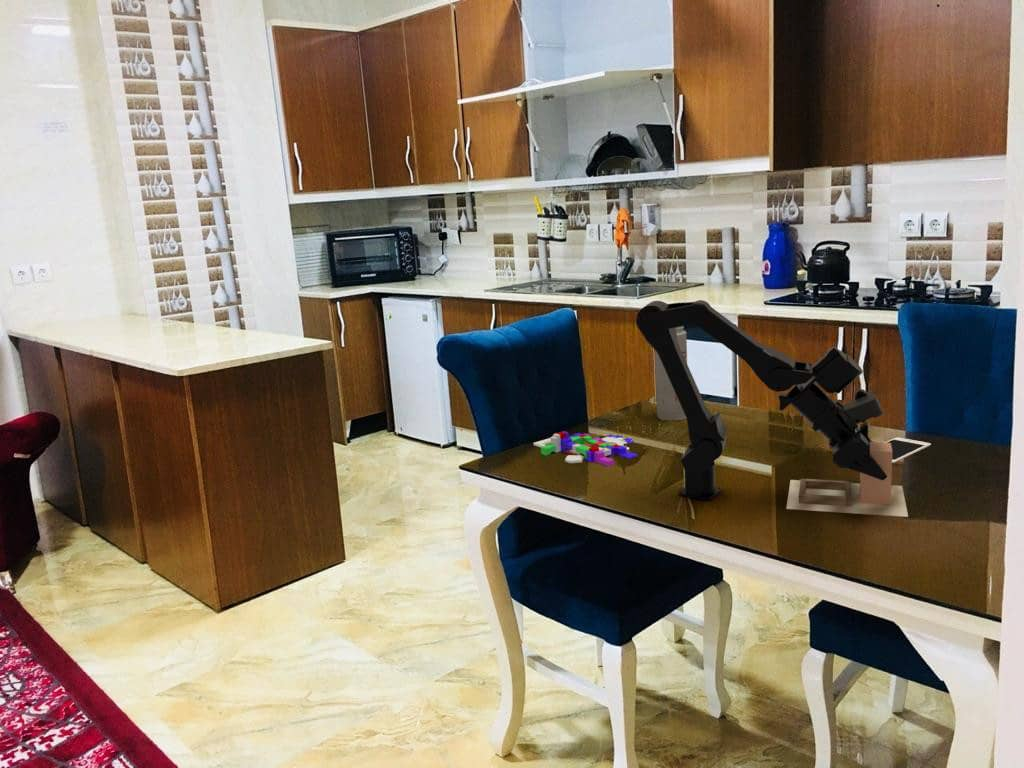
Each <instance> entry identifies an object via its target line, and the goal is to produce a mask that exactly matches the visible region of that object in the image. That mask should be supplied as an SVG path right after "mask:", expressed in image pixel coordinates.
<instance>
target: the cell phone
mask: <svg viewBox="0 0 1024 768" xmlns="http://www.w3.org/2000/svg"><path fill="white" fill-rule="evenodd" d="M884 443H891V447H892V464H895V463H897V462H899V461H901V460H903V459H905V458H907V457H909V456H911V455H913V454H915V453H917V452H919V451H922V450H923V449H925V448H928V447H930V446H931V445H932V444H931V443H930V442H927V441H926V442H925V441H919V440H915V439H914V440H913V439H909V438H905V437H904V438H903V437H895V438H892V439H889V440H887V441H885V442H884Z"/></svg>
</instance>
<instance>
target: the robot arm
mask: <svg viewBox="0 0 1024 768" xmlns="http://www.w3.org/2000/svg"><path fill="white" fill-rule="evenodd" d="M635 323H636V327H637V329H638V330H639V331H640V334H641V335H642V336H643V338H644V339H645V341H646V342H647V343H648V344H649V345H650V346H651V348H652V349H654V352H655V351H656V352H657V353H658V355H659V357H660V360H661V362H662V364H663V366H664V369H665V371H666V373H667V375H668V378H669V380H670V382H671V384H672V387H673V389H674V391H675V393H676V396H677V398H678V400H679V402H680V405H681V407H682V409H683V411H684V414H685V416H686V419H685V420H686V424H687V431H688V438H689V441H690V444H689V445H688V446H687V448H686V450H685V451H684V453H683V455H682V457H681V459H680V463H681V465H682V468H683V470H684V481H685V482H684V488H683V489H681V490H679V491H678V493H677V494H678V496H682V497H687V498H692V499H698V500H701V501H702V500H703V501H710V500H711V499H712V498H714V497H716V495H718V494H719V493H720V492H722V491H723V488H722V487H720V486H716V473H715V472H716V469H715V463H716V462H715V460H718V459H719V458H720V457H721V455H722V453H723V452H724V451H723V450H724V448H725V446H726V443H727V440H728V439H727V438H728V437H727V434H728V431H729V429H728V428H727V427H726V426H725V424H724V421H723V420H722V419H723V418H722V415H721V413H720V412H718V413H715V414H713V413H712V412H711V411H710V410H709V409H708V408H707V405H706V404H705V401H704V399H703V397H702V394H701V391H700V389H699V388H698V386H697V383H696V381H695V379H694V376H693V374H692V372H691V370H690V368H689V365H688V362H687V363H686V360H685V358H684V356H683V353H682V351H681V349H680V347H679V344H678V341H677V333H676V327H681V326H684V327H685V326H691V325H697V327H699V328H700V329H702V331H704V332H706V333H707V334H708V335H710V336H711V337H712V338H714V339H715V340H716V341H718V342H719V343H720V344H722V345H723V346H724V347H726V348H727V349H729V350H730V351H731V352H733V353H734V354H735V355H737V356H738V357H739V358H740V359H742V360H743V361H744V362H745V363H746V364H747V365H748V367H750V369H751V370H752V371H753V373H755V376H757V378H758V379H759V380H760V381H761V382H762V383H763V384H764V386H766V387H767V388H768V389H769V390H770V391H773V392H776V393H777V392H780V393H779V394H778V401H779V409H778V410H779V411H784V410H785V409H786V408H787V407H789V406H790V405H791V407H793V408H794V409H795V411H797V412H798V413H799V414H800V415H801V416H802V417H803V418H804V419H806V420H807V421H808V422H809V424H811V429H812V430H814V432H819V433H820V434H822V436H824V437H825V439H826V440H828V445H830V447H831V448H832V462H833V463H834V464H835V465H836V466H838V468H839V469H840V470H841V469H849V470H851V471H852V470H853V471H855V472H859V473H860V472H861V473H864V474H866V475H869V476H872V477H875V478H877V479H880V480H884V479H886V478H887V475H886V473H885V472H884V471H883V469H882V468H881V467H880V465H879V464H878V463H877V462H876V460H875V459H874V458H873V456H872V455H871V454H870V442H873V441H872V439H871V437H870V435H869V424H868V421H867V420H869V419H870V420H871V419H872V418H875V419H876V418H878V417H880V416H882V415H883V414H884V412H883V408H882V406H881V403H880V402H879V400H878V398H877V395H876V393H873V392H872V391H871V392H870V393H869V392H867V391H866V390H865V389H863V388H860V389H858V390H856V391H854V399H851V400H850V401H849V402H848V403H845V404H844V403H842V402H841V401H840V400H837V399H835V400H833V399H832V398H831V397H830V396H829V395H828V394H834V393H837V394H840V393H841V392H842V391H843V390H845V389H846V388H847V387H849V385H851V384H852V383H853V382H854V381H855V380H856V379H857V378H859V377H860V376H861V375H862V374H863V373H864V370H863V369H862V368H861V366H860V365H859V364H858V363H857V362H856V361H855V360H854V359H853V357H852V356H850V355H849V354H846V353H845V352H843V350H841V349H840V350H839V348H838V347H836V346H834V345H833V346H832V347H831V348H830V349H829V350H828V351H827V352H826V353H825V354H824V355H823V356H822V357H821V358H820V359H819V360H818V361H817V362H816V363H812V362H805V361H798V360H796V361H795V360H794V359H793V358H792V356H789V355H788V354H785V353H783V352H781V351H779V350H777V349H775V348H773V347H770V346H767V345H764V344H763V343H761V342H759V341H757V340H756V339H755V338H754V337H752V336H751V335H749V334H748V333H747V332H746V331H744V330H743V329H742V328H740V327H738V325H736V324H735V323H734V322H732V321H731V320H729V318H727V317H726V316H725V315H722V313H720V312H719V311H717V310H716V309H714V308H713V307H712V306H711V305H710V303H708V302H707V301H706V300H702V299H699V300H696V301H691V302H690V301H688V302H673V303H667V302H664V301H661V300H653V301H651V302H648V303H646V305H645V306H643V307H642V308H641V309H640V310H639V311H638V312H637V314H636V318H635ZM815 382H816V383H815ZM817 384H818V385H819V386H820V387H819V386H818V385H817ZM821 388H822V389H821ZM823 390H824V391H823ZM786 391H788V392H786ZM783 392H785V393H783ZM826 392H827V393H828V394H827V393H826ZM859 423H862V424H861V425H860V424H859Z"/></svg>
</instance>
